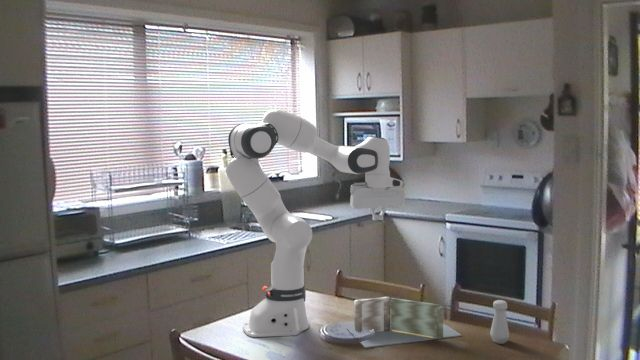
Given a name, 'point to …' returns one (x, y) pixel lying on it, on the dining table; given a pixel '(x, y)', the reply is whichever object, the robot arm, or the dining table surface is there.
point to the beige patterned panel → (372, 314)
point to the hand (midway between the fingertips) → (377, 219)
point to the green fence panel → (417, 317)
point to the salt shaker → (499, 323)
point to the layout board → (403, 337)
